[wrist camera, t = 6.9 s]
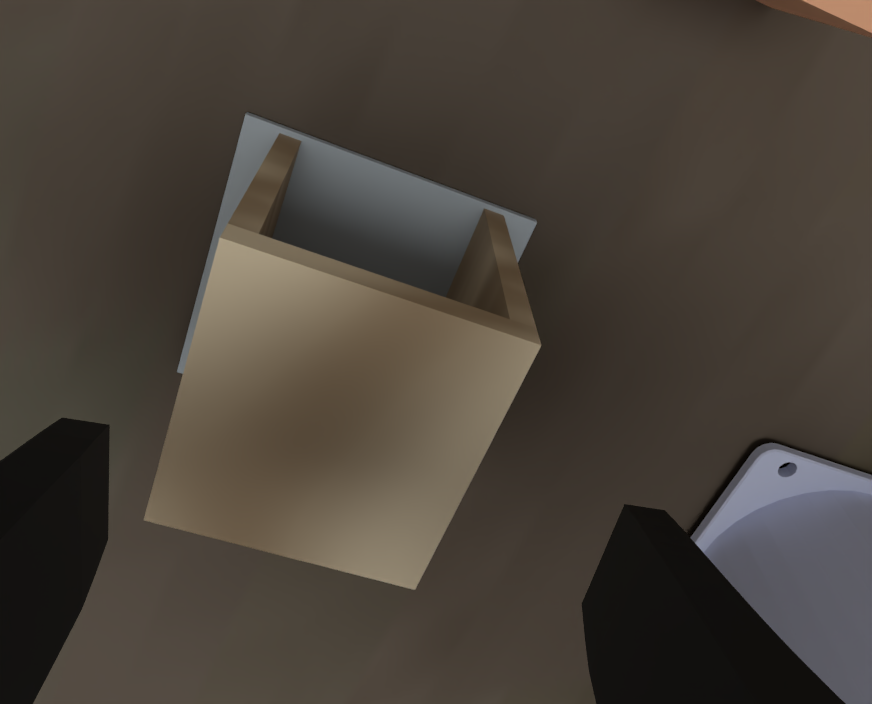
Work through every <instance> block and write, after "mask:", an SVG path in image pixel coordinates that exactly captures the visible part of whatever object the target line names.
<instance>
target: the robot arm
mask: <svg viewBox="0 0 872 704" xmlns="http://www.w3.org/2000/svg"><path fill="white" fill-rule="evenodd" d="M787 462H790V464H789V465H787V466H786V467H784V468H779V467H780V466H781V465H782V464H784V463H787ZM108 500H109V425H106V424H100V423H93V422H87V421H80V420H74V419H67V418H61V419H59V420H58V421H56V422H55V423H53V424H52V425H50V426H49V427H47V428H46V429H44V430H43V431H41V432H40V433H39V434H37V435H36V436H34V437H33V438H32V439H30V440H29V441H27V442H26V443H25V444H23V445H22V446H20V447H19V448H18V449H16V450H15V451H13V452H12V453H11V454H9V455H8V456H7V457H5V458H4V459H2V460H1V461H0V704H33V702H34V700H35V698H36V696H37V695H38V693H39V691H40V689H41V687H42V685H43V683H44V681H45V679H46V677H47V675H48V674H49V672H50V670H51V668H52V666H53V664H54V662H55V660H56V658H57V656H58V654H59V652H60V651H61V649H62V647H63V645H64V643H65V641H66V639H67V637H68V635H69V633H70V631H71V629H72V627H73V625H74V623H75V621H76V619H77V617H78V615H79V614H80V612H81V610H82V607H83V605H84V602H85V600H86V597H87V594H88V592H89V589H90V587H91V584H92V582H93V579H94V576H95V574H96V571H97V568H98V565H99V563H100V560H101V557H102V554H103V552H104V549H105V546H106V543H107V541H108ZM582 611H583V621H584V632H585V642H586V650H587V658H588V666H589V673H590V677H591V682H592V686H593V691H594V695H595V699H596V703H597V704H872V475H870V474H867V473H864V472H861V471H858V470H855V469H852V468H849V467H846V466H843V465H840V464H837V463H834V462H831V461H828V460H825V459H822V458H819V457H816V456H813V455H810V454H807V453H804V452H801V451H798V450H795V449H792V448H789V447H786V446H783V445H780V444H776V443H767V444H763V445H761V446H759V447H757V448H756V449H755V450H754V451H753V452H752V453H751V455H750V456H749V457H748V459H747V460H746V462H745V463H744V464H743V466H742V467H741V468H740V470H739V471H738V473H737V474H736V475H735V477H734V478H733V479H732V481H731V482H730V484H729V485H728V486H727V488H726V489H725V491H724V492H723V493H722V495H721V496H720V497H719V499H718V500H717V502H716V503H715V504H714V506H713V507H712V508H711V510H710V511H709V513H708V514H707V515H706V517H705V518H704V520H703V521H702V522H701V524H700V525H699V526H698V528H697V529H696V531H695V532H694V533H693V535H692V536H691V537H689V536H688V535H687V534H686V532H685V531H684V530H683V529H682V528H681V527H680V526H679V525H678V524H677V523H676V522H675V520H674V519H673V518H672V517H671V516H670V515H669V514H668V513H667V512H666V511H665V510H659V509H652V508H646V507H639V506H633V505H626V504H625V505H624V507H623V509H622V512H621V514H620V516H619V518H618V521H617V523H616V525H615V528H614V530H613V532H612V535H611V537H610V539H609V542H608V544H607V546H606V549H605V551H604V553H603V556H602V558H601V560H600V563H599V565H598V567H597V570H596V572H595V574H594V577H593V579H592V581H591V584H590V586H589V588H588V591H587V593H586V595H585V598H584V600H583V602H582Z"/></svg>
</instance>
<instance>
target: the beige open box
mask: <svg viewBox="0 0 872 704" xmlns="http://www.w3.org/2000/svg"><path fill="white" fill-rule="evenodd" d="M300 144H301V141H300V140H297V139H295V138H292V137H289V136H286V135H284V134H281V133H279V135H278V137H277V138H276V140H275V142H274V144H273V145H272V147H271V149H270V151H269V152H268V154H267V156H266V158H265V159H264V161H263V163H262V165H261V166H260V168H259V170H258V171H257V173H256V175H255V177H254V178H253V180H252V182H251V184H250V185H249V187H248V189H247V191H246V192H245V194H244V196H243V198H242V199H241V201H240V203H239V205H238V206H237V208H236V210H235V212H234V213H233V215H232V217H231V219H230V220H229V222H228V224H227V225H226V227H225V229H224V231H223V232H222V234H221V236H220V238H219V242H218V245H217V249H216V253H215V257H214V260H213V264H212V268H211V271H210V275H209V279H208V283H207V286H206V290H205V294H204V298H203V301H202V305H201V309H200V312H199V316H198V320H197V324H196V327H195V331H194V335H193V339H192V342H191V346H190V350H189V353H188V357H187V361H186V365H185V368H184V372H183V376H182V380H181V383H180V387H179V391H178V394H177V398H176V402H175V406H174V409H173V413H172V417H171V421H170V424H169V428H168V432H167V435H166V439H165V443H164V447H163V450H162V454H161V458H160V461H159V465H158V469H157V473H156V476H155V480H154V484H153V488H152V491H151V495H150V499H149V502H148V506H147V510H146V514H145V517H144V520H145V521H149V522H153V523H156V524H160V525H164V526H168V527H172V528H176V529H180V530H184V531H188V532H191V533H195V534H199V535H203V536H207V537H211V538H215V539H219V540H223V541H226V542H230V543H234V544H238V545H242V546H246V547H250V548H254V549H258V550H261V551H265V552H269V553H273V554H277V555H281V556H285V557H289V558H292V559H296V560H300V561H304V562H308V563H312V564H316V565H320V566H324V567H327V568H331V569H335V570H339V571H343V572H347V573H351V574H355V575H359V576H362V577H366V578H370V579H374V580H378V581H382V582H386V583H390V584H394V585H397V586H401V587H405V588H409V589H413V590H415V589H416V587H417V585H418V583H419V581H420V579H421V577H422V575H423V573H424V571H425V570H426V568H427V566H428V564H429V562H430V560H431V558H432V556H433V554H434V552H435V550H436V548H437V546H438V544H439V542H440V541H441V539H442V537H443V535H444V533H445V531H446V529H447V527H448V525H449V523H450V521H451V519H452V517H453V515H454V513H455V512H456V510H457V508H458V506H459V504H460V502H461V500H462V498H463V496H464V494H465V492H466V490H467V488H468V486H469V484H470V483H471V481H472V479H473V477H474V475H475V473H476V471H477V469H478V467H479V465H480V463H481V461H482V459H483V457H484V455H485V453H486V452H487V450H488V448H489V446H490V444H491V442H492V440H493V438H494V436H495V434H496V432H497V430H498V428H499V426H500V424H501V423H502V421H503V419H504V417H505V415H506V413H507V411H508V409H509V407H510V405H511V403H512V401H513V399H514V397H515V395H516V394H517V392H518V390H519V388H520V386H521V384H522V382H523V380H524V378H525V376H526V374H527V372H528V370H529V368H530V366H531V365H532V363H533V361H534V359H535V357H536V355H537V353H538V351H539V349H540V347H541V342H540V339H539V335H538V332H537V328H536V325H535V321H534V318H533V315H532V311H531V308H530V304H529V301H528V297H527V294H526V290H525V287H524V283H523V280H522V276H521V273H520V270H519V266H518V263H517V259H516V256H515V252H514V249H513V245H512V242H511V238H510V235H509V232H508V228H507V225H506V221H505V218H504V215H501V214H498V213H496V212H493V211H490V210H487V209H485V208H484V210H483V212H482V215H481V217H480V219H479V221H478V224H477V226H476V228H475V231H474V233H473V235H472V238H471V240H470V242H469V245H468V247H467V249H466V251H465V254H464V256H463V258H462V261H461V263H460V265H459V268H458V270H457V272H456V274H455V277H454V279H453V281H452V284H451V286H450V288H449V291H448V293H447V295H446V297H443V296H440V295H437V294H434V293H431V292H428V291H425V290H422V289H419V288H416V287H413V286H411V285H408V284H405V283H402V282H399V281H396V280H393V279H390V278H387V277H384V276H381V275H378V274H375V273H372V272H369V271H366V270H363V269H360V268H358V267H355V266H352V265H349V264H346V263H343V262H340V261H337V260H334V259H331V258H328V257H325V256H322V255H319V254H316V253H313V252H310V251H307V250H305V249H302V248H299V247H296V246H293V245H290V244H287V243H284V242H281V241H278V240H275V239H272V237H273V234H274V230H275V227H276V224H277V220H278V217H279V214H280V210H281V207H282V204H283V201H284V197H285V194H286V191H287V187H288V184H289V181H290V177H291V174H292V171H293V168H294V164H295V161H296V158H297V154H298V151H299V148H300Z"/></svg>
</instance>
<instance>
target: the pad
mask: <svg viewBox="0 0 872 704" xmlns="http://www.w3.org/2000/svg"><path fill="white" fill-rule="evenodd" d="M279 133H281V134H284V135H286V136H289V137H292V138H295V139H297V140H300V141H301V144H300V148H299V151H298V154H297V158H296V161H295V164H294V168H293V171H292V174H291V177H290V181H289V184H288V187H287V191H286V194H285V197H284V201H283V204H282V207H281V210H280V214H279V217H278V220H277V224H276V227H275V230H274V234H273V237H272V239H275V240H278V241H281V242H284V243H287V244H290V245H293V246H296V247H299V248H302V249H305V250H307V251H310V252H313V253H316V254H319V255H322V256H325V257H328V258H331V259H334V260H337V261H340V262H343V263H346V264H349V265H352V266H355V267H358V268H360V269H363V270H366V271H369V272H372V273H375V274H378V275H381V276H384V277H387V278H390V279H393V280H396V281H399V282H402V283H405V284H408V285H411V286H413V287H416V288H419V289H422V290H425V291H428V292H431V293H434V294H437V295H440V296H443V297H446V295H447V293H448V291H449V288H450V286H451V284H452V281H453V279H454V277H455V274H456V272H457V270H458V268H459V265H460V263H461V261H462V258H463V256H464V254H465V251H466V249H467V247H468V245H469V242H470V240H471V238H472V235H473V233H474V231H475V228H476V226H477V224H478V221H479V219H480V217H481V215H482V212H483V210H484V208H485V209H487V210H490V211H493V212H496V213H498V214H501V215H504V218H505V221H506V225H507V228H508V232H509V235H510V238H511V242H512V245H513V249H514V252H515V256H516V259H517V263H518V262H519V259H520V257H521V255H522V253H523V251H524V249H525V247H526V245H527V243H528V240H529V238H530V236H531V234H532V232H533V230H534V228H535V226H536V224H537V221H536V219H534V218H531V217H528V216H525V215H523V214H520V213H517V212H515V211H512V210H509V209H507V208H504V207H501V206H499V205H496V204H493V203H491V202H488V201H485V200H482V199H480V198H477V197H474V196H472V195H469V194H466V193H464V192H461V191H458V190H456V189H453V188H450V187H448V186H445V185H442V184H440V183H437V182H434V181H431V180H429V179H426V178H423V177H421V176H418V175H415V174H413V173H410V172H407V171H405V170H402V169H399V168H397V167H394V166H391V165H389V164H386V163H383V162H380V161H378V160H375V159H372V158H370V157H367V156H364V155H362V154H359V153H356V152H354V151H351V150H348V149H346V148H343V147H340V146H337V145H335V144H332V143H329V142H327V141H324V140H321V139H319V138H316V137H313V136H311V135H308V134H305V133H303V132H300V131H297V130H295V129H292V128H289V127H286V126H284V125H281V124H278V123H276V122H273V121H270V120H268V119H265V118H262V117H260V116H257V115H254V114H252V113H249V112H247V113H246V114H245V118H244V122H243V126H242V129H241V133H240V137H239V141H238V144H237V148H236V152H235V156H234V159H233V163H232V167H231V171H230V174H229V178H228V182H227V186H226V189H225V193H224V197H223V201H222V204H221V208H220V212H219V216H218V219H217V223H216V227H215V231H214V235H213V238H212V242H211V246H210V250H209V253H208V257H207V261H206V265H205V268H204V272H203V276H202V280H201V283H200V287H199V291H198V295H197V298H196V302H195V306H194V310H193V313H192V317H191V321H190V325H189V328H188V332H187V336H186V340H185V343H184V347H183V351H182V355H181V359H180V362H179V366H178V370H177V372H179V373H182V374H183V372H184V368H185V365H186V361H187V357H188V353H189V350H190V346H191V342H192V339H193V335H194V331H195V327H196V324H197V320H198V316H199V312H200V309H201V305H202V301H203V298H204V294H205V290H206V286H207V283H208V279H209V275H210V271H211V268H212V264H213V260H214V257H215V253H216V249H217V245H218V242H219V238H220V236H221V234H222V232H223V231H224V229H225V227H226V225H227V224H228V222H229V220H230V219H231V217H232V215H233V213H234V212H235V210H236V208H237V206H238V205H239V203H240V201H241V199H242V198H243V196H244V194H245V192H246V191H247V189H248V187H249V185H250V184H251V182H252V180H253V178H254V177H255V175H256V173H257V171H258V170H259V168H260V166H261V165H262V163H263V161H264V159H265V158H266V156H267V154H268V152H269V151H270V149H271V147H272V145H273V144H274V142H275V140H276V138H277V137H278V135H279Z"/></svg>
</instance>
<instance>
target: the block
mask: <svg viewBox="0 0 872 704" xmlns="http://www.w3.org/2000/svg"><path fill="white" fill-rule="evenodd" d="M756 1H758V2H760V3H762V4H764V5H766V6H769V7H771V8H773V9H777V10H780V11H784V12H787V13H790V14H794V15H797V16H800V17H804V18H807V19H810V20H814V21H817V22H821V23H824V24H827V25H831V26H834V27H837V28H841V29H844V30H847V31H851V32H854V33H858V34H861V35H864V36H868V37H871V38H872V0H756Z"/></svg>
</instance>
